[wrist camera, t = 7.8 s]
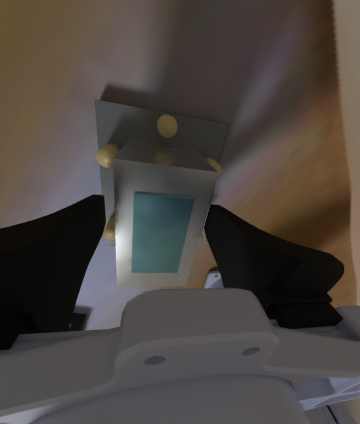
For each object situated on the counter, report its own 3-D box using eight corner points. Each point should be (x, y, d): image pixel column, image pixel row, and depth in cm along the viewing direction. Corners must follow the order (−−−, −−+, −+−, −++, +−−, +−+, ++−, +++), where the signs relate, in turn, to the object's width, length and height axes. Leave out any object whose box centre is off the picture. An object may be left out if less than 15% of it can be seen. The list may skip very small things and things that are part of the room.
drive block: (131, 137, 12) (112, 158, 7) (192, 147, 13) (219, 173, 7) (129, 229, 16) (116, 287, 11) (176, 231, 17) (186, 286, 11)
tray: (99, 100, 11) (82, 97, 9) (223, 123, 13) (240, 126, 10) (108, 238, 17) (100, 261, 15) (193, 242, 19) (199, 262, 16)
